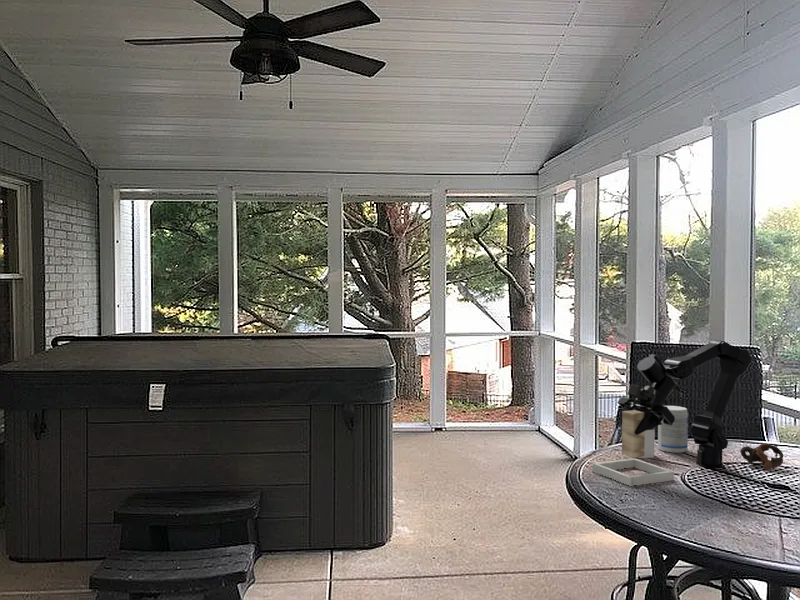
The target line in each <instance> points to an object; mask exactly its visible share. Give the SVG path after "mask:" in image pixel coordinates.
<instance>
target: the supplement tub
mask: <svg viewBox="0 0 800 600" xmlns="http://www.w3.org/2000/svg"><path fill="white" fill-rule="evenodd" d="M665 406H666V407H667V408H668V409H669V410H670V411H671V413H672V414H673V415H674V416H675V421H674V423H673V424H672V425H667V424H664V422H663V420H664V419H663V420H662V421H661V423H662V425H658V426H657V448H658V450H660V451H663V452H666V453H670V454H671V453H674V454H680V453H685V452H687V450H688V448H689V447H688V443H689V442H688V438H689V436H688V429H689V428H688V427H689V426H688V423H689V422H688V421H689V420H688V419H689V418H688V417H689V415H688V413H689V412H688V408H686V407H684V406H683V407H682V406H679V405H678V406H677V405H665Z"/></svg>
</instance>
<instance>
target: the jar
mask: <svg viewBox="0 0 800 600" xmlns="http://www.w3.org/2000/svg"><path fill="white" fill-rule="evenodd" d="M655 431H656V426H655V427H653V428H650V429H648V430H646V431H645V445H644V456H643V457H638V458H637V459H654V458H655V434H656V432H655Z"/></svg>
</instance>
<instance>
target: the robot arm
mask: <svg viewBox="0 0 800 600" xmlns="http://www.w3.org/2000/svg"><path fill="white" fill-rule="evenodd" d="M715 358H718V359H719V361H718V363H719V368H720V373H719V375H718V378H717V381H716V383H715V386H714V388H713V391H712V393H711V396H710V398H709V401H708V403H707V407H706V408H705V411H704V412H703V413H702V414H695V416H694V418H693V419H694V420H693V423H692V424H691V425H690V426H691V434H692V438H693V442H694V444H696V445H698V449H697V450H696V453H697V454H696V455H697V456H696V460H695V463H696V464H697V465H700V466H702V467H704V468H708V469H711V468H714V469H715V468H717V469H718V468H726V465H725V464H723V450H725V449H727V448H728V444H729V441H728V439H727V438H726V436H724V434H723V430H724V426H723V421H722V417H723V415H724V413H725V409H726V407H727V404H728V402H729V399H730V397H731V394H732V391H733V390H734V386H735V384H736V382H737V379H738V377H740V376H741V375H742V374H743V373H745V372H746V370H747V369H748V367H749V365H750V363H751V360H752V359H751V355H750V352H749V351H748V350H747V349H744V348H740V347H737V346H734V345H732V344H730V343H728V342H726V341H725V340H724V341H723V340H715V339H714V340H711V341H709V342H708V343H706V344H705V345H703V346H701V347H699V348H697V349H696V350H695V349H694V350H693V351H691V352H689V353H687V354H686V355H682V356H674V357H671V358H670V357H669V358H668V359H666V360H664V362H662V361H661V360H660V359H659V357H658V355H656V354H653V353H651V354H650V355H649V356H647V357H644V358H643V359H642V360H639V362H638V363H637V366H636V367H637V370H638V371H639V372H640V373H641V374H642V376H643V377H644V378H645V379H646V381H648V383H651V385H645V386H641V385H637V384H632V383H631V384H630V386H629V388H628V391H627V395H629V396H632V397H633V398H635V400H634V399H633V398H630V397H624V396H623V397H620V398H619V400H618V401H617V404H618V405H619V406H620V407H621V408H622V411H631V410H635V411H640V412H644V418H643V419H642V421H641V422H640V424H639V425H638V427H637V428H636V430H635V434H636V435H638V434H640V433H642V432H644V431H646V430H648V429H650V428H653V427H655V428H656V427H658V425H662V423H661V421H662V420H663V419H664V420H663V422H664V424H667V425H672V424H673V423H674V421H675V416H674V415H673V414H672V413H671V411H670V410H669V409H668V408H667V407H666V406H668V403H669V402H668V401H667V399H668V398H669V397H670V395H671V394H672V392H679V393H680V392H681V388H680V382H676V381H675V380H682V381H683V380H686V379H688V378H689V377H690V376H691V375H693V374H694V371H695V369H697V368H698V367H700V366H702V365H704V364H705V363H707V362H709V361H712V360H713V359H715ZM635 401H636V402H637V403H636V402H635Z"/></svg>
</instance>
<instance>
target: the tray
mask: <svg viewBox="0 0 800 600" xmlns="http://www.w3.org/2000/svg"><path fill="white" fill-rule="evenodd" d="M633 467H635V468H634V469H637V468H638V469H637V470H639V471H643V472H645V471H646V473H644V474H637V475H628V474H626V473H623V472H620V471H619V470H625V469H624V468H627V469H633ZM617 469H619V470H617ZM592 472H593V473H595V474H597V473H598V474H597V475H600V474H601V475H600V476H602V475H603V476H602V477H605V476H606V477H605V478H607V477H609V478H608V479H610V478H612V479H611V480H613V479H614V480H613V481H615V480H616V482H618V481H619V482H618V483H620V482H621V484H623V483H624V484H623V485H625V484H627V485H626V486H628V485H629V486H628V487H635V486H634V485H637V486H642V484H644V485H649V483H651V484H655V483H656V484H657V483H662V482H670V481H675V471H673V470H670V469H668V468H666V467H661V466H658V465H656V464H654V463H653V464H652V463H649V462H646V461H644V460H641V459H639V458H627V459H626V458H625V459H618V460H612V461H611V460H610V461H602V462H593V463H592ZM648 472H649V473H648Z"/></svg>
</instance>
